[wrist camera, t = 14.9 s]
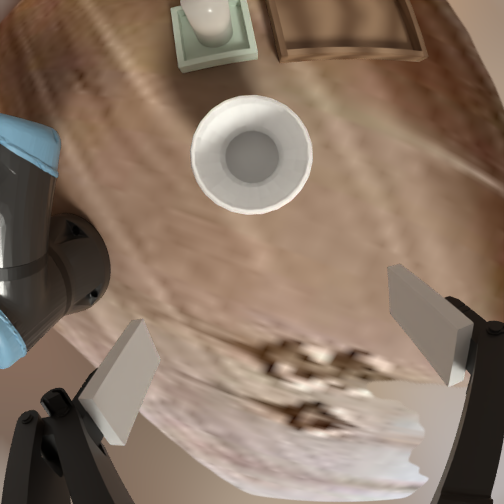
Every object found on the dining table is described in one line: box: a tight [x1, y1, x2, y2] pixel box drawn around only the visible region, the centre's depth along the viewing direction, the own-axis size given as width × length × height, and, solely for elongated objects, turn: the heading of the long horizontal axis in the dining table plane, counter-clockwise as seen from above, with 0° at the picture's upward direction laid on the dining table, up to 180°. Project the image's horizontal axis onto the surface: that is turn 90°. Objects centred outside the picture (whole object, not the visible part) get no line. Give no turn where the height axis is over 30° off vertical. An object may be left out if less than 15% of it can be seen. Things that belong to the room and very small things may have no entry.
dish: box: [171, 0, 258, 73], centre depth 31 cm, size 10×10×2 cm
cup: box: [190, 95, 313, 215], centre depth 30 cm, size 11×11×15 cm
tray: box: [265, 0, 428, 63], centre depth 30 cm, size 21×12×3 cm, turn 100°
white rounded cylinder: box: [180, 0, 233, 48], centre depth 27 cm, size 5×5×10 cm
